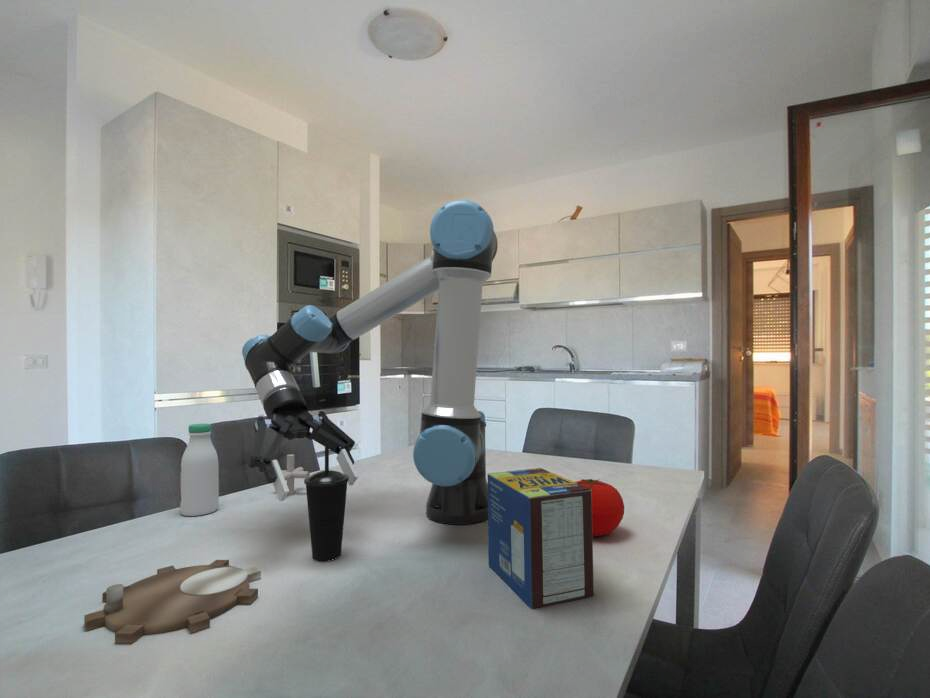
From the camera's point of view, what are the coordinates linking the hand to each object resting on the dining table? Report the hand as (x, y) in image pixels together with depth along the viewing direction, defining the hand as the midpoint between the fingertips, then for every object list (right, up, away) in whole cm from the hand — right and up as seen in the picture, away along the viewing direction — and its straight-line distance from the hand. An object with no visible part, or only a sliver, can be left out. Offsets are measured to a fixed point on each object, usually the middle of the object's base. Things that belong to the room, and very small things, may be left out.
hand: (321, 488), depth 85 cm
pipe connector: (-20, -13, +40) cm, 46 cm away
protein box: (+37, -12, -10) cm, 40 cm away
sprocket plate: (-16, -12, -16) cm, 25 cm away
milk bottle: (-36, -13, +25) cm, 46 cm away
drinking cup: (+1, -12, -1) cm, 12 cm away
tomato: (+51, -12, +10) cm, 53 cm away
